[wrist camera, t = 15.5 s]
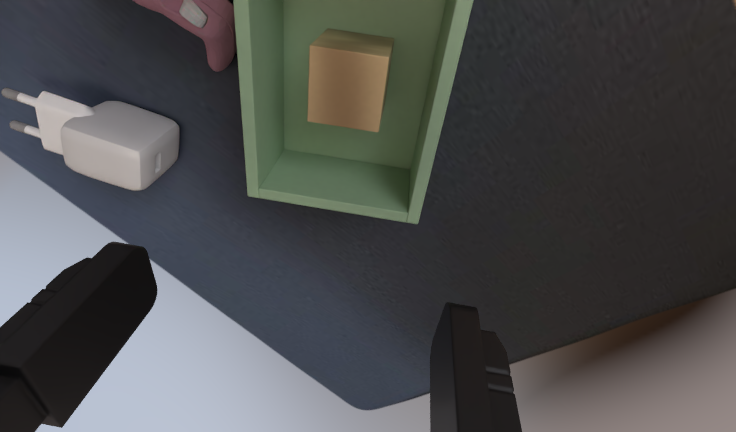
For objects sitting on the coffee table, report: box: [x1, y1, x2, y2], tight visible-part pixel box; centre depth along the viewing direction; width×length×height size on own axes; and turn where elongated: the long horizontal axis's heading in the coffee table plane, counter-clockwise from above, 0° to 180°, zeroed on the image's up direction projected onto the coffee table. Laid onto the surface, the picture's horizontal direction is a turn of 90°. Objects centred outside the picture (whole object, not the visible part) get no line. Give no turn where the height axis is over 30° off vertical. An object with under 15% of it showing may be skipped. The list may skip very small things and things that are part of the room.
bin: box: [233, 0, 473, 224], centre depth 24 cm, size 12×16×7 cm
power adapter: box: [1, 88, 180, 191], centre depth 29 cm, size 11×5×6 cm, turn 71°
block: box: [307, 28, 394, 132], centre depth 24 cm, size 4×4×5 cm
